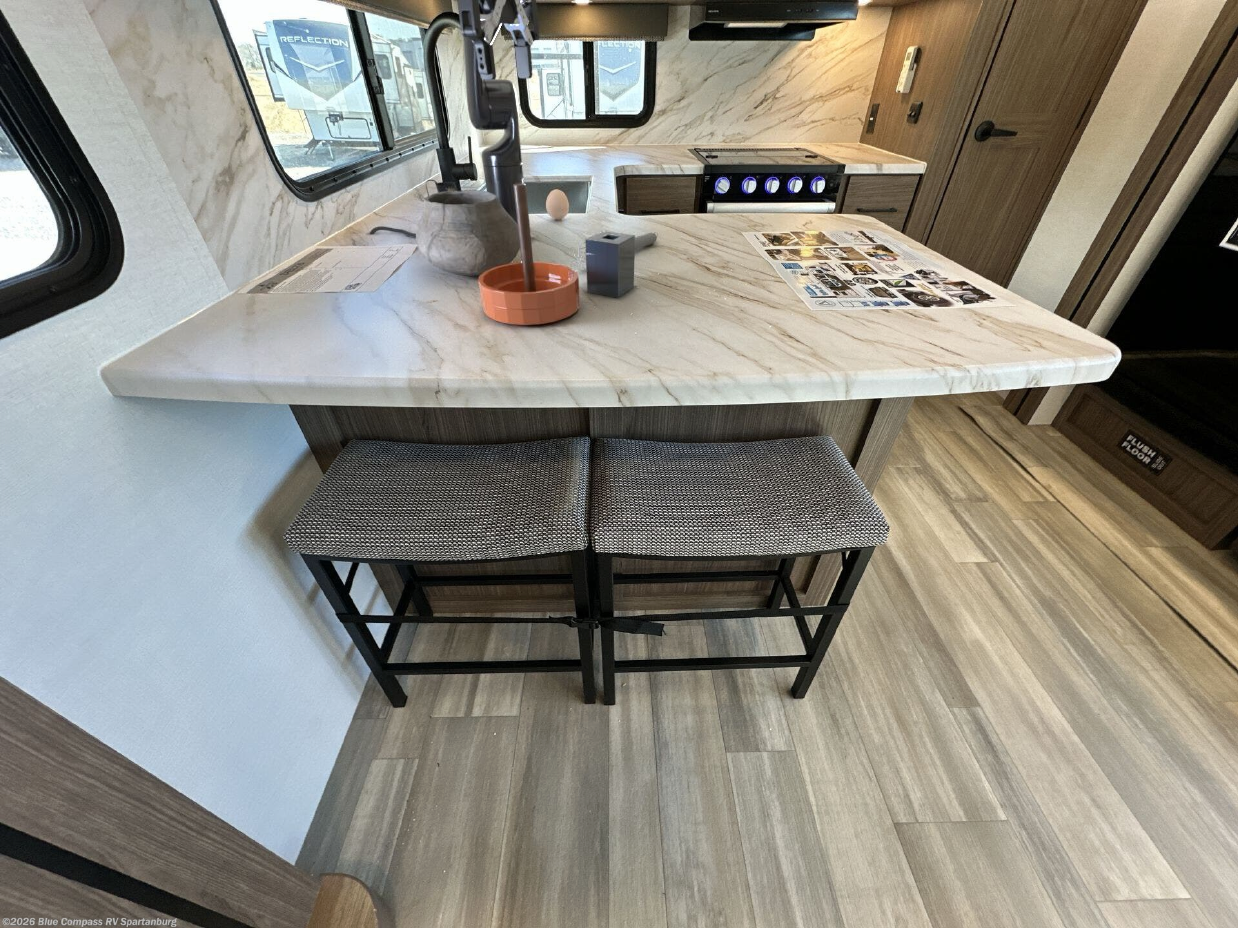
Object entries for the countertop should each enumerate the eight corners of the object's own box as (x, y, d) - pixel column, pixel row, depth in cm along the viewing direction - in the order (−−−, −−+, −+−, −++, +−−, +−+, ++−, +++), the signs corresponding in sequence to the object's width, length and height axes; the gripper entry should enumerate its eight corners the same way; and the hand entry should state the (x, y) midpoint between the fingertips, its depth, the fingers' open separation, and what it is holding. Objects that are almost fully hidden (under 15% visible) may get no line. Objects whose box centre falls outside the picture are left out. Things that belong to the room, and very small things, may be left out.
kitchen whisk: (667, 243, 129) (668, 216, 125) (591, 280, 107) (590, 249, 103) (646, 239, 132) (647, 213, 128) (568, 275, 110) (566, 245, 106)
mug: (464, 225, 143) (456, 177, 136) (464, 230, 139) (455, 181, 132) (435, 226, 142) (425, 178, 134) (434, 231, 138) (424, 182, 130)
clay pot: (537, 260, 117) (530, 188, 108) (502, 291, 101) (491, 209, 92) (451, 254, 121) (437, 184, 112) (404, 283, 105) (383, 204, 95)
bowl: (463, 316, 91) (457, 283, 87) (522, 287, 103) (518, 256, 100) (544, 335, 85) (541, 300, 81) (596, 301, 97) (595, 270, 93)
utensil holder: (587, 292, 101) (585, 239, 95) (604, 281, 106) (603, 231, 100) (618, 298, 98) (618, 244, 92) (633, 287, 103) (635, 235, 97)
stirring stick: (524, 306, 93) (510, 184, 81) (531, 303, 95) (518, 182, 82) (533, 308, 93) (520, 186, 80) (539, 305, 94) (528, 184, 82)
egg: (574, 219, 149) (572, 189, 144) (558, 223, 145) (556, 192, 140) (558, 216, 152) (556, 186, 147) (542, 220, 148) (539, 189, 143)
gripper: (501, -71, 69) (516, 78, 79) (425, -94, 59) (453, 79, 69) (547, -76, 66) (556, 78, 76) (475, -102, 56) (497, 80, 66)
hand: (507, 79), depth 73 cm, fingers open, 8 cm apart
